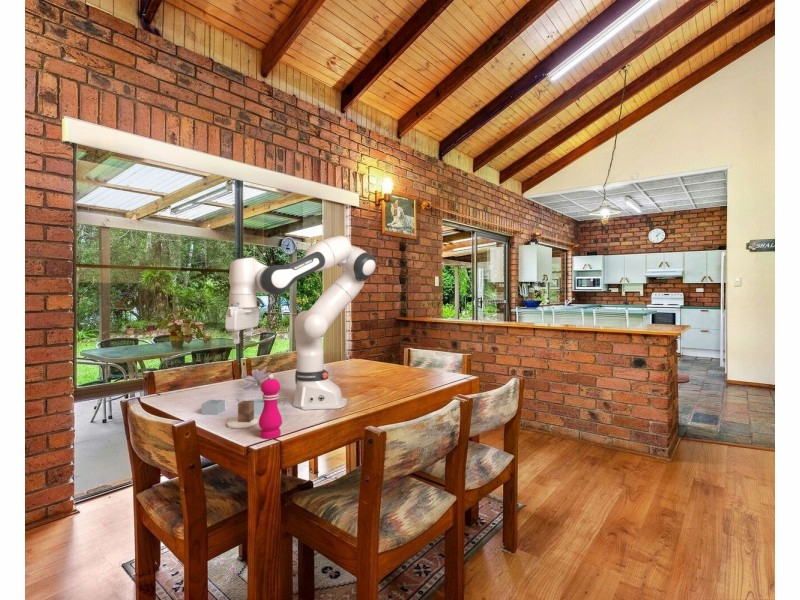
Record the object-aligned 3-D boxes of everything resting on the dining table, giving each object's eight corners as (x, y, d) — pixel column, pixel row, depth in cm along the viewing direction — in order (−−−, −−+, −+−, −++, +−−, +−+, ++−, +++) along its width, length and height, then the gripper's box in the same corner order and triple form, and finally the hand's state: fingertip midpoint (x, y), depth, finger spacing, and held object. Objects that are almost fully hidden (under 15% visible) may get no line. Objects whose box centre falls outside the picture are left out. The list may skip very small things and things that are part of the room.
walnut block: (253, 418, 146) (253, 400, 146) (249, 422, 142) (249, 403, 142) (242, 418, 146) (242, 400, 146) (238, 422, 142) (238, 403, 142)
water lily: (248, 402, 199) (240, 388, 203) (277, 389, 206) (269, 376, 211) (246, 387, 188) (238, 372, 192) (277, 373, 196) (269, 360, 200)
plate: (262, 419, 149) (262, 416, 149) (251, 428, 139) (251, 425, 139) (234, 419, 150) (234, 415, 150) (221, 428, 139) (221, 424, 139)
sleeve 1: (224, 410, 162) (224, 400, 161) (217, 414, 155) (217, 404, 155) (209, 409, 162) (209, 399, 162) (201, 414, 156) (201, 403, 155)
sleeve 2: (265, 408, 164) (265, 398, 164) (265, 412, 158) (265, 402, 158) (248, 409, 162) (248, 399, 162) (247, 414, 156) (247, 403, 156)
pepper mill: (266, 441, 127) (266, 377, 127) (254, 435, 132) (254, 374, 132) (286, 435, 133) (286, 374, 133) (274, 430, 138) (274, 371, 137)
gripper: (239, 303, 133) (239, 345, 134) (262, 302, 154) (262, 339, 154) (220, 303, 134) (220, 345, 134) (245, 302, 154) (245, 338, 154)
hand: (242, 341), depth 144 cm, fingers open, 8 cm apart
